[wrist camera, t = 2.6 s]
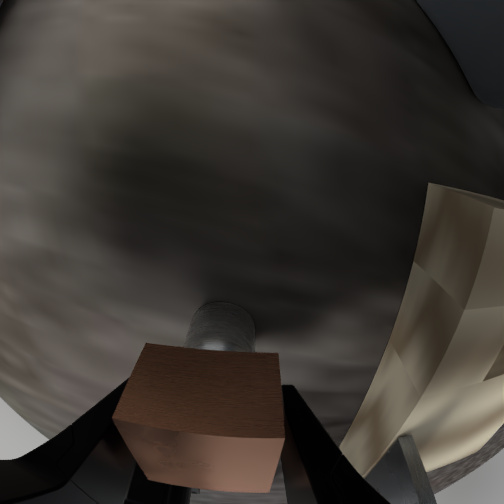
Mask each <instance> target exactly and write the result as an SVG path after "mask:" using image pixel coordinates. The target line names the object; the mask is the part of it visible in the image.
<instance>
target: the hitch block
mask: <svg viewBox="0 0 504 504" xmlns="http://www.w3.org/2000/svg"><path fill="white" fill-rule="evenodd" d="M503 423H504V200H501V199H497V198H493V197H490V196H486V195H482V194H478V193H474V192H470V191H466V190H461V189H457V188H453V187H448V186H443V185H439V184H434V183H429V182H428V189H427V196H426V202H425V208H424V214H423V219H422V224H421V229H420V234H419V239H418V244H417V248H416V252H415V256H414V260H413V264H412V268H411V272H410V276H409V280H408V283H407V287H406V290H405V294H404V297H403V300H402V303H401V307H400V310H399V313H398V316H397V319H396V322H395V325H394V328H393V330H392V333H391V336H390V339H389V341H388V344H387V347H386V349H385V352H384V354H383V357H382V359H381V362H380V364H379V367H378V369H377V372H376V374H375V376H374V379H373V381H372V383H371V385H370V388H369V390H368V392H367V394H366V396H365V398H364V400H363V403H362V405H361V407H360V409H359V411H358V413H357V415H356V417H355V419H354V421H353V423H352V424H351V426H350V428H349V430H348V432H347V434H346V436H345V437H344V439H343V441H342V443H341V445H340V446H339V448H340V450H341V451H342V454H344V455H345V457H346V458H347V459H348V461H349V462H350V463H351V464H352V466H353V467H354V468H355V469H356V470H357V472H358V473H359V474H360V475H361V476H362V477H363V478H365V477H366V476H367V475H368V474H369V473H370V471H371V470H372V469H373V468H374V467H375V466H376V464H377V463H378V462H379V461H380V460H381V459H382V457H383V456H384V455H385V454H386V452H387V451H388V450H389V449H390V447H391V446H392V445H393V444H394V442H395V441H396V440H397V438H399V437H404V436H408V435H412V436H413V439H414V441H415V444H416V447H417V449H418V452H419V454H420V457H421V460H422V462H423V465H424V468H425V471H426V472H428V471H431V470H434V469H437V468H439V467H442V466H444V465H447V464H449V463H452V462H454V461H457V460H459V459H461V458H464V457H466V456H468V455H470V454H473V453H475V452H477V451H479V450H480V449H481V447H482V446H483V445H484V444H485V443H486V442H487V441H488V440H489V439H490V438H491V437H492V436H493V435H494V434H495V432H496V431H497V430H498V429H499V428H500V427H501V425H502V424H503Z"/></svg>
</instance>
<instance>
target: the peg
mask: <svg viewBox="0 0 504 504" xmlns="http://www.w3.org/2000/svg"><path fill="white" fill-rule="evenodd" d="M112 419H113V421H114V423H115V425H116V427H117V429H118V431H119V432H120V434H121V436H122V438H123V440H124V441H125V443H126V445H127V447H128V448H129V450H130V452H131V453H132V455H133V457H134V458H135V460H136V461H137V463H138V465H139V466H140V468H141V469H142V471H143V472H144V474H145V475H146V477H147V478H148V480H152V481H156V482H161V483H167V484H172V485H178V486H184V487H191V488H198V489H207V490H217V491H229V492H251V493H269V491H270V488H271V485H272V481H273V478H274V475H275V472H276V468H277V465H278V462H279V458H280V455H281V451H282V448H283V444H284V441H285V429H284V416H283V403H282V391H281V379H280V367H279V355H278V353H257V352H255V324H254V321H253V319H252V317H251V316H250V315H249V314H248V313H247V312H246V311H245V310H244V309H243V308H241V307H239V306H237V305H235V304H232V303H227V302H213V303H209V304H207V305H204V306H202V307H201V308H200V309H198V310H197V311H196V313H195V314H194V316H193V318H192V321H191V324H190V327H189V330H188V334H187V337H186V340H185V343H184V346H183V347H175V346H166V345H158V344H150V343H146V344H145V346H144V348H143V350H142V352H141V354H140V356H139V359H138V361H137V363H136V365H135V367H134V369H133V371H132V374H131V376H130V378H129V380H128V382H127V385H126V387H125V389H124V391H123V394H122V396H121V398H120V400H119V403H118V405H117V407H116V410H115V412H114V414H113V417H112Z"/></svg>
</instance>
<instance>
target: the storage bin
mask: <svg viewBox="0 0 504 504" xmlns="http://www.w3.org/2000/svg"><path fill="white" fill-rule="evenodd" d="M416 1H417V3H418V4H419V5H420V6H421V8H422V9H423V10H424V12H425V13H426V14H427V16H428V17H429V18H430V20H431V21H432V22H433V24H434V25H435V27H436V28H437V29H438V31H439V32H440V34H441V35H442V37H443V38H444V40H445V41H446V43H447V45H448V46H449V48H450V49H451V51H452V53H453V54H454V56H455V58H456V60H457V61H458V63H459V65H460V67H461V69H462V71H463V73H464V74H465V76H466V78H467V80H468V82H469V84H470V86H471V88H472V90H473V92H474V94H475V95H476V97H477V98H478V99H479V100H480V101H481V102H482V103H483V104H485V105H487V106H489V107H493V108H501V109H504V0H416Z"/></svg>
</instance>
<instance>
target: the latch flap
mask: <svg viewBox="0 0 504 504" xmlns="http://www.w3.org/2000/svg"><path fill="white" fill-rule="evenodd" d="M364 479H365V480H366V481H367V482H368V483H369V484H370V485H371V486H372V487H373V488H374V489H376V490H377V491H378V492H379V493H380V494H381V495H382V496H383V497H384V498H385V499H386V500H387V501H389V502H390V503H391V504H437V503H436V500H435V497H434V494H433V491H432V488H431V485H430V482H429V479H428V476H427V473H426V471H425V468H424V465H423V462H422V460H421V457H420V454H419V452H418V449H417V447H416V444H415V441H414V439H413V436H412V435H408V436H404V437H399V438H397V440H396V441H395V442H394V444H393V445H392V446H391V447H390V449H389V450H388V451H387V452H386V454H385V455H384V456H383V457H382V459H381V460H380V461H379V462H378V463H377V464H376V466H375V467H374V468H373V469H372V470H371V471H370V473H369V474H368V475H367V476H366V477H365V478H364Z"/></svg>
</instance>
